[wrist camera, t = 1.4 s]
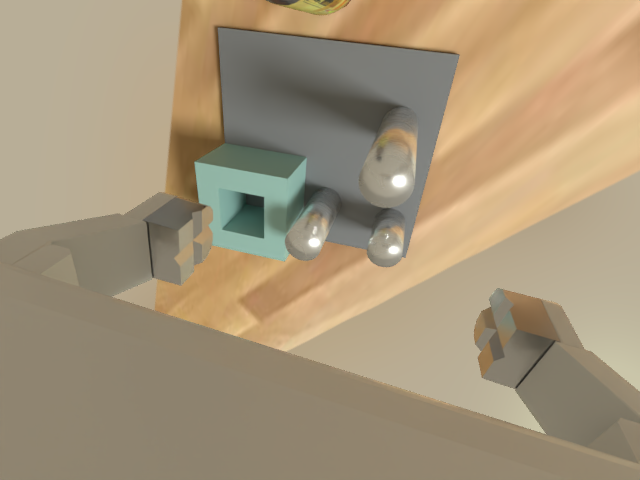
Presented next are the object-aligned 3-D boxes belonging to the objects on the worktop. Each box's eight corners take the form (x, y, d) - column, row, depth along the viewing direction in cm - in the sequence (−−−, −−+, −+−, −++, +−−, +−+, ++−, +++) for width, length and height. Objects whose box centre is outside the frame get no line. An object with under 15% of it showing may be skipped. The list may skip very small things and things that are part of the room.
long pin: (422, 108, 31) (420, 160, 19) (413, 144, 32) (407, 212, 21) (385, 103, 31) (362, 151, 20) (379, 139, 33) (354, 202, 21)
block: (306, 157, 36) (287, 178, 31) (301, 232, 41) (284, 261, 36) (224, 143, 37) (194, 161, 32) (229, 217, 42) (203, 243, 37)
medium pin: (342, 190, 37) (322, 233, 29) (339, 217, 38) (318, 263, 31) (313, 184, 37) (285, 225, 30) (311, 211, 39) (284, 256, 31)
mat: (458, 54, 29) (459, 55, 28) (405, 254, 39) (405, 257, 39) (220, 27, 32) (217, 27, 31) (232, 218, 43) (229, 220, 42)
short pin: (408, 211, 36) (405, 241, 31) (401, 237, 38) (398, 270, 33) (377, 205, 36) (369, 234, 32) (372, 231, 38) (364, 263, 33)
